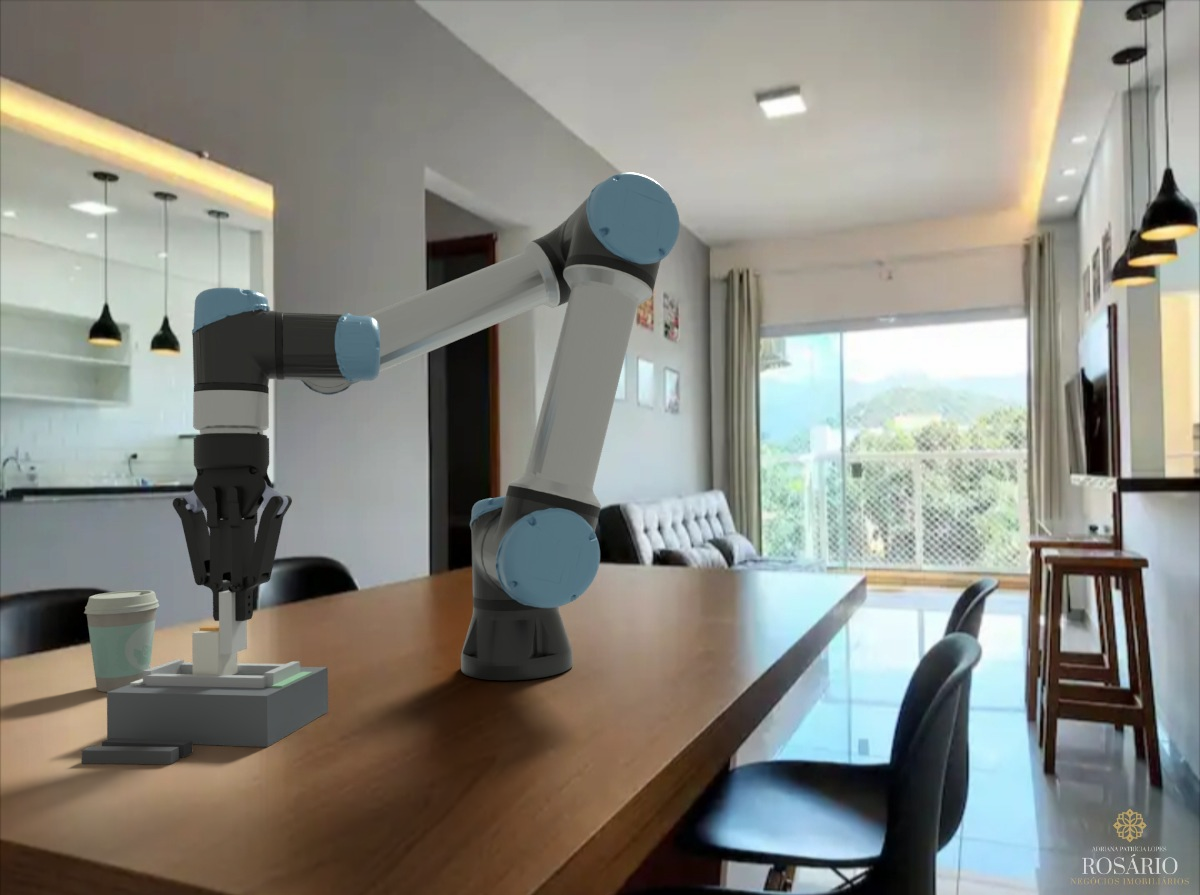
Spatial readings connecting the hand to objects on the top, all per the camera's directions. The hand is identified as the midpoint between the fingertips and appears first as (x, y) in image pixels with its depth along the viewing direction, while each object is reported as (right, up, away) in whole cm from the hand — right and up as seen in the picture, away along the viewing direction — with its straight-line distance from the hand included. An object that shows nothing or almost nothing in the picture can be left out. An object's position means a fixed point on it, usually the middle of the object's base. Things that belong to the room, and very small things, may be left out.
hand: (233, 651), depth 88 cm
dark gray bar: (-5, -8, -11) cm, 14 cm away
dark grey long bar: (-5, -8, -8) cm, 12 cm away
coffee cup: (-23, -10, +19) cm, 31 cm away
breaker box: (-1, -8, 0) cm, 8 cm away
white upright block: (-2, -3, 0) cm, 4 cm away
